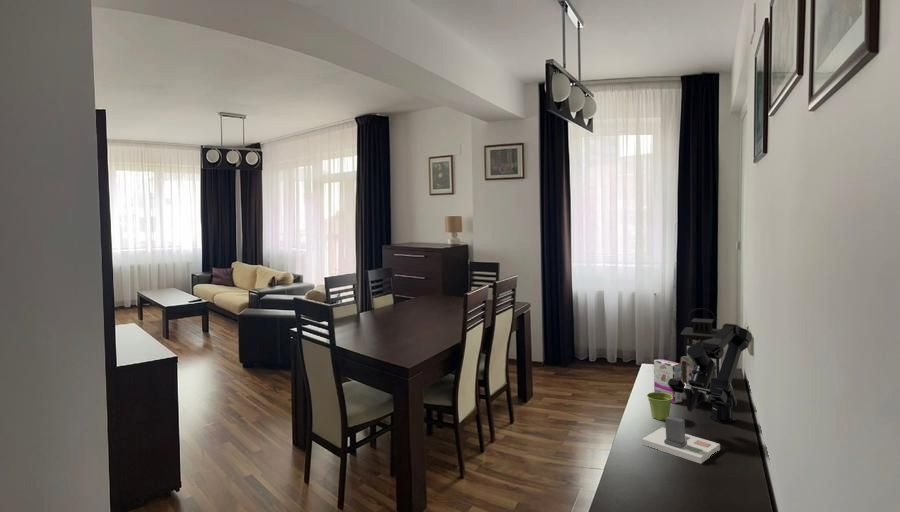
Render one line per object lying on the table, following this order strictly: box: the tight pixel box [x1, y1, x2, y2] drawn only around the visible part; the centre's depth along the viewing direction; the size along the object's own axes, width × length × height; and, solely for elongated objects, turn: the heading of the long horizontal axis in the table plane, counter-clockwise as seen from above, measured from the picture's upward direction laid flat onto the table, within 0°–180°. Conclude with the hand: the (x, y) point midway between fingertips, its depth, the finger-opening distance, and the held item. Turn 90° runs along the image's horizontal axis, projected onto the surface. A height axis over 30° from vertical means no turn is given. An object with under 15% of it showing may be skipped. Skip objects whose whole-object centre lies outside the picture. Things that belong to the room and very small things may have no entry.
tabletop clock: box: [679, 341, 716, 385], centre depth 212 cm, size 14×9×25 cm, turn 178°
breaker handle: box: [664, 415, 687, 448], centre depth 166 cm, size 4×6×8 cm
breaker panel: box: [641, 426, 721, 465], centre depth 169 cm, size 14×20×2 cm
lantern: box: [680, 307, 723, 378], centre depth 236 cm, size 17×17×35 cm
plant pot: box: [646, 391, 673, 421], centre depth 194 cm, size 9×9×9 cm
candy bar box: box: [653, 358, 683, 404], centre depth 214 cm, size 11×5×16 cm, turn 23°
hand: (689, 411), depth 173 cm, fingers closed
